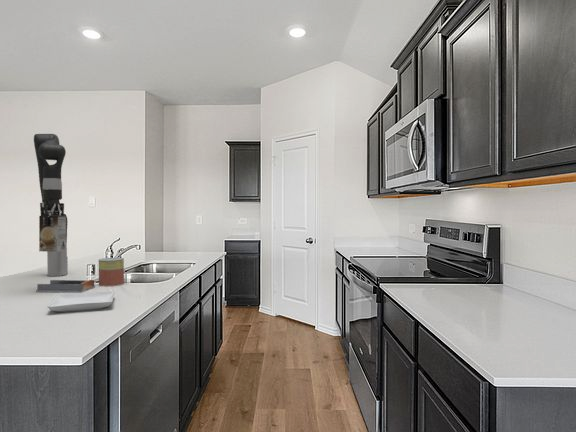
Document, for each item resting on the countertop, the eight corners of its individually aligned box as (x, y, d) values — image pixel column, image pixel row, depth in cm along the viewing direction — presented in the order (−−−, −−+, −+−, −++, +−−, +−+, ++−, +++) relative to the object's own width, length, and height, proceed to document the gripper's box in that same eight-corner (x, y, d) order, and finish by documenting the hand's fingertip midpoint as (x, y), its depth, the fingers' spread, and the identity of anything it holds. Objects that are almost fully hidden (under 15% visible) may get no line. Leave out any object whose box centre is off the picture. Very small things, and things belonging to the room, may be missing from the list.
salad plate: (56, 302, 164) (56, 293, 164) (114, 298, 172) (114, 290, 171) (46, 316, 144) (46, 306, 144) (112, 310, 152) (112, 301, 152)
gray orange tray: (52, 286, 193) (52, 278, 193) (95, 287, 192) (94, 278, 192) (36, 292, 181) (36, 283, 181) (81, 292, 180) (81, 283, 180)
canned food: (128, 281, 205) (128, 257, 205) (116, 286, 194) (116, 260, 194) (106, 281, 206) (106, 257, 206) (93, 285, 195) (93, 260, 195)
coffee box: (38, 251, 184) (38, 215, 184) (48, 250, 190) (48, 215, 190) (57, 251, 183) (57, 215, 182) (66, 250, 189) (66, 215, 189)
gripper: (54, 189, 193) (54, 225, 194) (33, 188, 179) (33, 226, 179) (69, 189, 193) (70, 225, 193) (50, 187, 179) (50, 226, 179)
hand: (52, 225), depth 186 cm, fingers closed on coffee box, 6 cm apart
